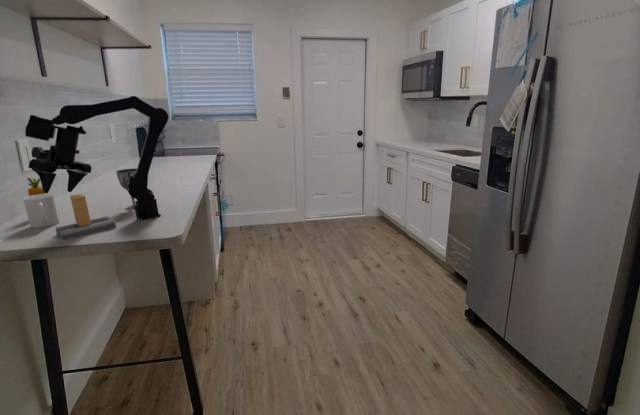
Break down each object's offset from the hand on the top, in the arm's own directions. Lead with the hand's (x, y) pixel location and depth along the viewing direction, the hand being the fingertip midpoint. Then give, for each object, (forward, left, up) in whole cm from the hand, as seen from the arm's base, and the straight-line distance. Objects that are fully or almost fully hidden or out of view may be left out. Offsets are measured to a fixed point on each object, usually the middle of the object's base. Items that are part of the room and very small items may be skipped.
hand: (57, 192), depth 119 cm
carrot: (+1, -27, -13) cm, 30 cm away
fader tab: (-4, +7, -11) cm, 14 cm away
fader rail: (-4, +7, -13) cm, 15 cm away
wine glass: (-26, -10, -13) cm, 30 cm away
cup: (+3, -12, -13) cm, 18 cm away
